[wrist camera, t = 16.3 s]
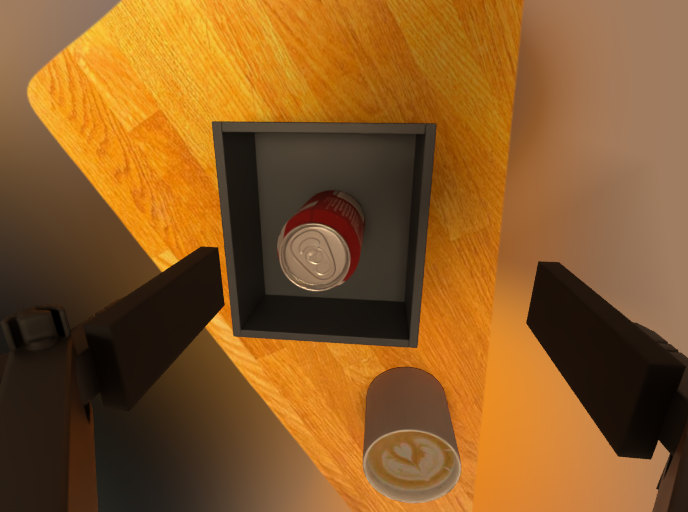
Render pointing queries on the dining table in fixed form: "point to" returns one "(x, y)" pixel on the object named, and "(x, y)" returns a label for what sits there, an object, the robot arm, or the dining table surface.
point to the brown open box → (292, 193)
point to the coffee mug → (409, 437)
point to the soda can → (322, 241)
